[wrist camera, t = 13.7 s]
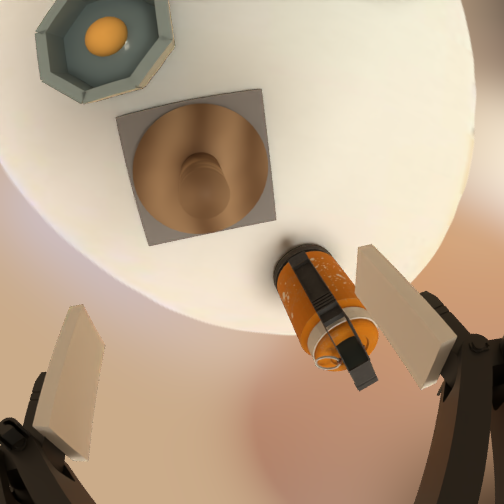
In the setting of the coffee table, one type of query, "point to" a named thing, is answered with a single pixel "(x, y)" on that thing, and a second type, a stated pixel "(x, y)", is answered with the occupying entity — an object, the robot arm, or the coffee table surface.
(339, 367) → the canister
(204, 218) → the walnut lid
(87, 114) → the coffee table surface
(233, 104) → the rubber mat
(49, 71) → the slate bowl
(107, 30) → the orange ball
